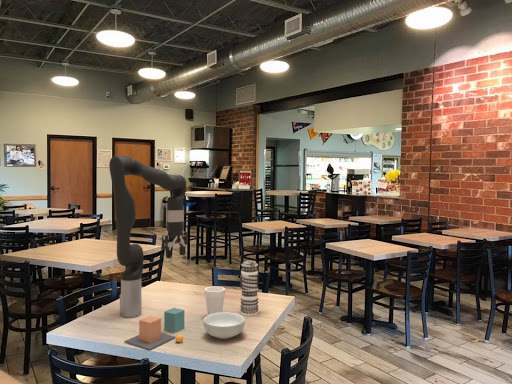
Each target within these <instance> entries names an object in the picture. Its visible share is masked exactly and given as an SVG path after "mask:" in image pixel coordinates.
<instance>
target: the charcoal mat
mask: <svg viewBox="0 0 512 384" xmlns="http://www.w3.org/2000/svg"><path fill="white" fill-rule="evenodd" d="M174 339H175V340H176V336H174V335H171V334H168V333H165V332H164V333H163V332H161V338H160V339H158V340H156V341H154V342H151V343H148V342H145V341H142V340H139V334H138V335H135V336H133V337H131V338H128V339H126V340H124V341H123V342H124V343H125V344H128V345H131V346H134V347H137V348H141V349H143V350H147V351H152V350H154V349H156V348H158V347H160V346H163V345H164V344H167V343H168V342H170V341H173V340H174Z"/></svg>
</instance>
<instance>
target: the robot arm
mask: <svg viewBox="0 0 512 384" xmlns="http://www.w3.org/2000/svg"><path fill="white" fill-rule="evenodd" d="M108 165H109V167H108V168H109V173H110V180H111V185H112V191H113V199H114V213H115V215H114V216H115V223H116V225H115V226H116V257H117V261H118V263H119V265H121V266H123V267H125V269H124V270H122V272H121V273H120V294H119V315H120V316H121V317H122V318H135V317H139V316H140V315H142V309H143V308H142V307H143V306H142V305H143V304H142V302H143V301H142V274H143V271H144V258H145V257H144V250H143V247H142V246H141V245H140V244H138V243H133V244H131V239H130V238H131V231H132V229H133V227H134V224H135V221H136V217H137V209H136V202H135V199H134V198H133V196H132V194H131V192H130V190H129V189H128V187H127V184H126V180H125V176H137V177H140V178H142V179H143V180H144V181H146V182H148V183H150V184H152V185H156V186H158V187H160V188H162V189H163V190H165V191H168V192H172V194H171V196H169V197H167V198H166V199H167V200H166V215H165V216H166V219H165V220H166V231H167V234H162V236H161V249H162V250H165V258H166V259H169V260H170V259H171V258H172V250H171V249H172V248H173V246H174V245H175V244H178V246H179V255H180V256H184V255H185V252H186V251H185V247H186V246H188V245H189V237H188V236H189V234H188V233H189V232H188V231H185V219H184V217H185V214H184V213H185V212H184V198H185V195H186V190H187V186H188V185H187V181H186V178H185V177H184V175H181V174H168V173H167V172H166V171H164V170H163V169H159V168H157V167H153V166H149V165H147V164H144V163H142V162H140V161H138V160H137V159H135V158H134V157H132V156H129V155H113V156H112V157H110V160H109V164H108ZM126 266H127V267H126Z"/></svg>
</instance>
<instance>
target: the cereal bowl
mask: <svg viewBox="0 0 512 384" xmlns="http://www.w3.org/2000/svg"><path fill="white" fill-rule="evenodd" d="M245 324H246V319H245V317H244V315H242V314H239V313H235V312H228V311H227V312H226V311H222V312H219V313H213V314H210V315H208V314H207V315H206V316H205V317H204V318H203V327H204V329H205V332H206V333H207V334H209V335H210V336H212V337H215V338H216V339H220V340H228V339H231V338H232V337H233V338H234V337H235V336H237V335H239V334H241V333H242V331H243V330H244V327H245Z"/></svg>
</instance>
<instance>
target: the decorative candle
mask: <svg viewBox="0 0 512 384" xmlns="http://www.w3.org/2000/svg"><path fill="white" fill-rule="evenodd" d="M240 265H241V271H240V273H241V274H240V275H239V276H240V279H239V280H240V290H241V295H240V296H241V297H240V315H241V316H248V317H249V316H250V317H253V316H256V315H257V316H258V314H259V298H258V297H259V295H258V290H259V286H258V285H259V283H260V282H259V280H260V279H259V278H258V277H260V275H259V271H258V266H259V263H257V262H256V261H255V260H252V259H251V260H249V259H248V260H243V262H242V263H241V264H240Z"/></svg>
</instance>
